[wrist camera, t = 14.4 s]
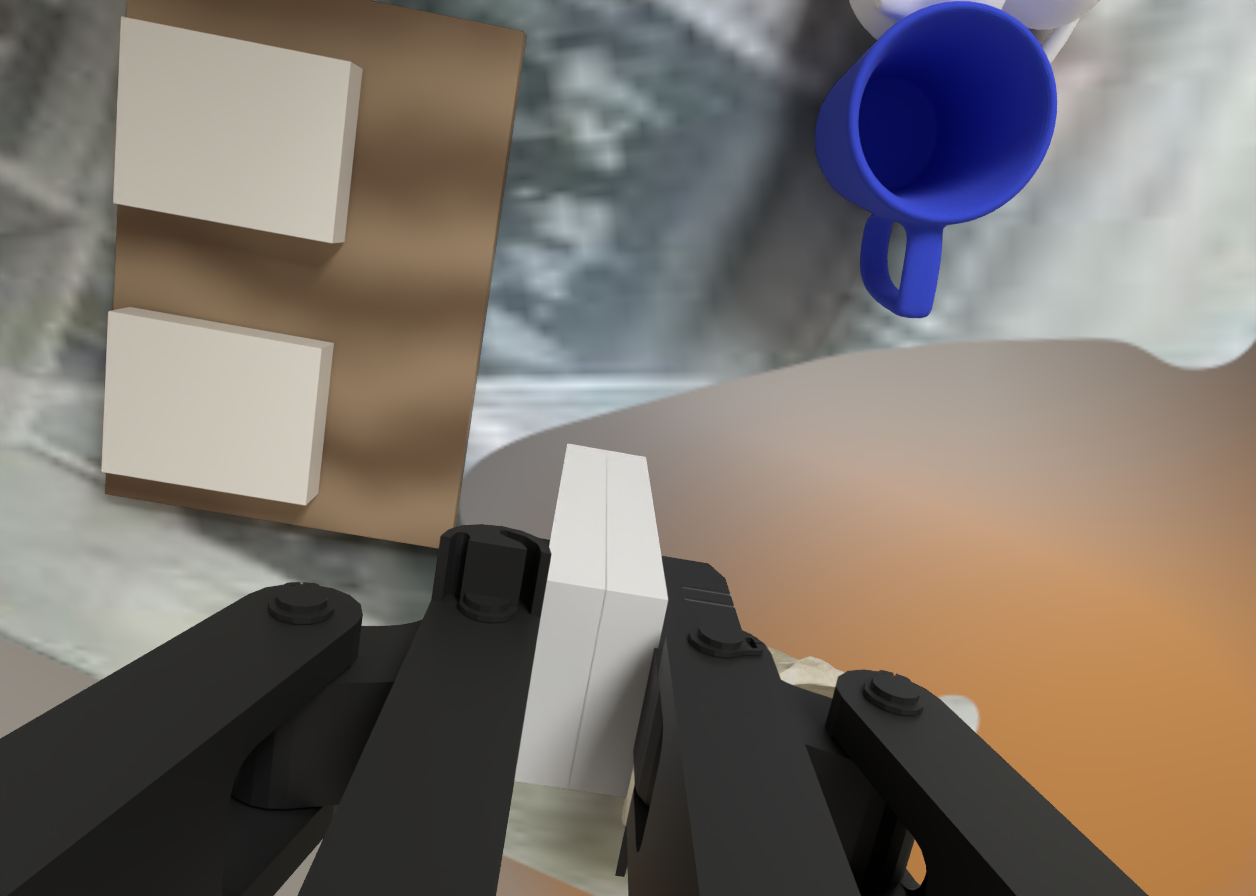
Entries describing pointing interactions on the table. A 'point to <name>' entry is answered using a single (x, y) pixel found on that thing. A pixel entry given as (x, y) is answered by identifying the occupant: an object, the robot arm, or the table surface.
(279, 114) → the tile
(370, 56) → the board
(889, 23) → the crumpled paper ball
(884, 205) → the mug
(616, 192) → the table surface
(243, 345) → the tile
